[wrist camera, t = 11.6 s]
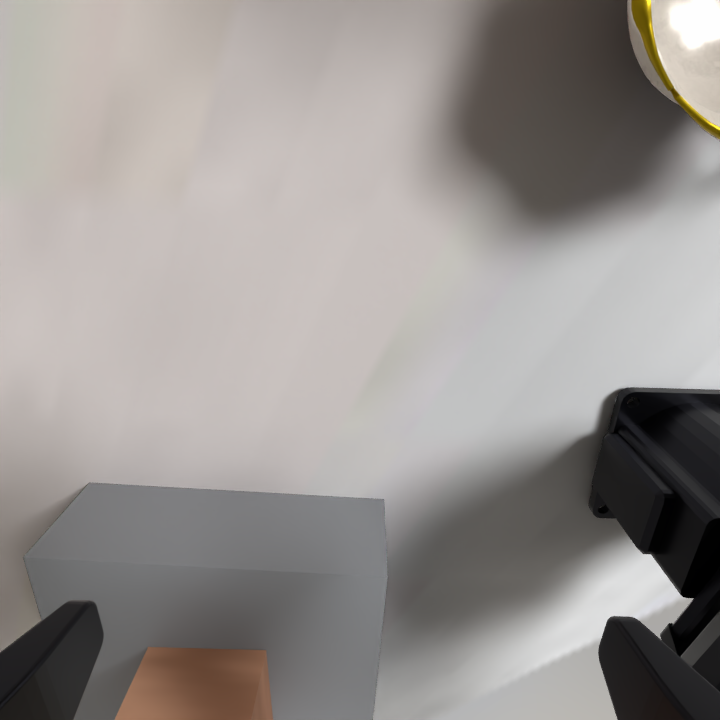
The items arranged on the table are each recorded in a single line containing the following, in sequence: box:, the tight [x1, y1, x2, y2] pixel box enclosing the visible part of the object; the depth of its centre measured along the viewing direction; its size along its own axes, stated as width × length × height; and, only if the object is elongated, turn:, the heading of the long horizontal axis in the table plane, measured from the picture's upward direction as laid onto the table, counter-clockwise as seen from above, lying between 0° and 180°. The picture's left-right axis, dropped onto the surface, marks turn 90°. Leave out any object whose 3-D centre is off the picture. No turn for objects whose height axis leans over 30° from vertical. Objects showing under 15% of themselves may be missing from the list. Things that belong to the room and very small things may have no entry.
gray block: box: [23, 483, 388, 720], centre depth 23 cm, size 14×14×5 cm
